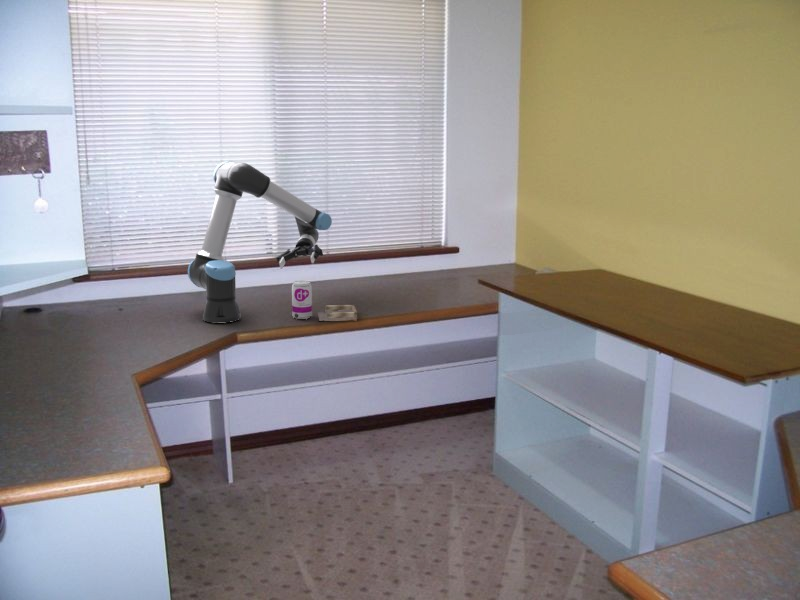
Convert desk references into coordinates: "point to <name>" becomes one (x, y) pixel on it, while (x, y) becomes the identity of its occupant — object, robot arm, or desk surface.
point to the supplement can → (301, 299)
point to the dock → (340, 314)
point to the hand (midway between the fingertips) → (296, 263)
